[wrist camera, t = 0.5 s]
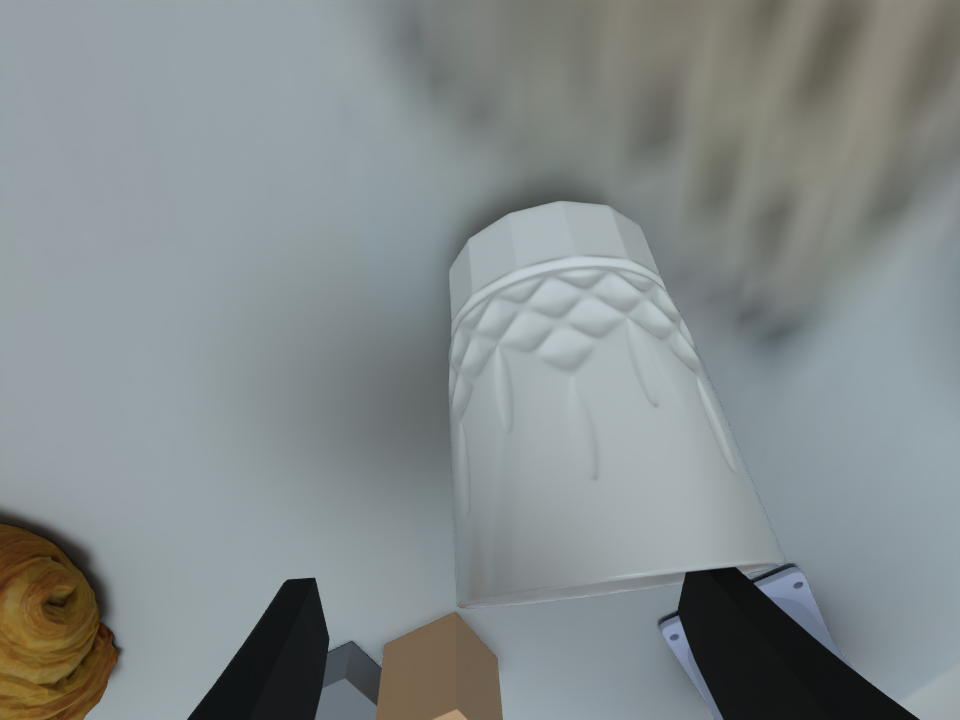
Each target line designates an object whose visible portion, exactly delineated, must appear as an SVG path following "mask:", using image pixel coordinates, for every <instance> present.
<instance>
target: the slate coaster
mask: <svg viewBox="0 0 960 720" xmlns="http://www.w3.org/2000/svg"><path fill="white" fill-rule="evenodd" d="M381 671H382V669H381V668H380V667H379V666H378V665H377V664H376V663H374V662H373V661H372V660H371V659H370V658H369V657H368V656H367V655H366V654H365V653H364V652H363V651H362V650H361V649H359V648H358V647H357V646H356V645H355V644H354V643H353V642H350V643H347V644H345V645H343V646H341V647H339V648H337V649H335V650H333V651H331V652H328V653H327V660H326V667H325V674H324V680H323V687H322V692H321V696H320V700H319V704H318V709H317V713H316V717H315V720H375V719H376V711H377V703H378V695H379V687H380V679H381Z"/></svg>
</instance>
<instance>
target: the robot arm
mask: <svg viewBox="0 0 960 720" xmlns="http://www.w3.org/2000/svg"><path fill="white" fill-rule="evenodd" d="M677 612H678V616H676V617H673V618H671V619H669V620H666V621H664V622H663V623H662V624H661V625H660V631H661V633H662V635H663V637H664V638H665V640H666V641H667V643H668V645H669V646H670V648H671V649H672V651H673V652H674V654H675V655H676V657H677V658H678V660H679V662H680V663H681V665H682V666H683V668H684V669H685V671H686V672H687V674H688V676H689V677H690V679H691V680H692V682H693V683H694V685H695V686H696V688H697V689H698V691H699V693H700V694H701V696H702V697H703V699H704V700H705V702H706V703H707V705H708V706H709V708H710V710H711V712H712V714H713V717H714V719H715V720H919V719H918V718H917V717H915V716H914V715H913V714H911V713H910V712H908V711H907V710H906V709H904V708H903V707H902V706H900V705H899V704H898V703H896V702H895V701H893V700H892V699H891V698H889V697H888V696H887V695H885V694H884V693H883V692H881V691H880V690H879V689H877V688H876V687H875V686H873V685H872V684H871V683H870V682H868V681H867V680H866V679H864V678H863V677H862V676H861V675H859V674H858V673H857V672H856V671H855V670H854V669H853V667H852V666H851V665H850V663H849V662H848V661H847V659H846V658H845V657H844V655H843V654H842V653H841V651H840V650H839V649H838V647H837V646H836V645H835V643H834V642H833V641H832V639H831V637H830V634H829V632H828V630H827V627H826V625H825V622H824V620H823V618H822V615H821V613H820V611H819V608H818V606H817V603H816V601H815V599H814V596H813V594H812V591H811V589H810V587H809V584H808V582H807V580H806V577H805V575H804V574H803V572H802V571H801V570H800V569H799V568H797V567H791V568H788V569H785V570H783V571H781V572H778V573H776V574H774V575H771V576H769V577H767V578H764V579H762V580H760V581H757V582H755V583H753V582H751V581H750V580H749V579H748V578H747V577H746V576H745V575H744V574H743V573H742V572H741V571H740V570H738V569H737V568H736V567H729V568H719V569H709V570H700V571H691V572H686V573H685V578H684V582H683V587H682V592H681V597H680V601H679V606H678V611H677ZM328 645H329V635H328V631H327V626H326V622H325V618H324V614H323V609H322V605H321V601H320V596H319V592H318V588H317V584H316V579H315V578H303V579H289V580H287V581H285V582H284V583H283V585H282V586H281V588H280V589H279V591H278V593H277V594H276V596H275V597H274V599H273V600H272V602H271V603H270V605H269V607H268V608H267V610H266V611H265V613H264V614H263V616H262V617H261V619H260V620H259V622H258V623H257V625H256V626H255V628H254V629H253V630H252V632H251V633H250V635H249V636H248V638H247V639H246V641H245V642H244V644H243V645H242V646H241V648H240V649H239V651H238V652H237V653H236V655H235V656H234V658H233V659H232V660H231V662H230V663H229V665H228V666H227V667H226V669H225V670H224V672H223V673H222V674H221V676H220V677H219V679H218V680H217V681H216V683H215V684H214V685H213V687H212V688H211V689H210V690H209V692H208V693H207V694H206V696H205V697H204V698H203V699H202V701H201V702H200V703H199V705H198V706H197V707H196V709H195V710H194V711H193V712H192V714H191V715H190V716H189V718H188V719H187V720H315V717H316V713H317V709H318V704H319V700H320V696H321V692H322V687H323V680H324V674H325V667H326V660H327V653H328Z"/></svg>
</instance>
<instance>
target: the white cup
mask: <svg viewBox="0 0 960 720" xmlns="http://www.w3.org/2000/svg"><path fill="white" fill-rule="evenodd" d="M449 285H450V302H451V321H452V325H451V340H452V341H451V345H450V349H449V353H448V357H449V367H450V369H449V396H448V398H449V424H450V448H451V474H452V498H453V522H454V548H455V576H456V604H457V607H459V608H466V609H469V608H489V607H501V606H512V605H522V604H532V603H541V602H550V601H559V600H568V599H576V598H584V597H592V596H600V595H608V594H616V593H623V592H631V591H638V590H645V589H652V588H659V587H666V586H673V585H680V584H683V582H684V578H685V573H686V572H691V571H700V570H709V569H719V568H729V567H736V568H737V569H738V570H740V571H741V572H742V573H743V574H748V573H753V572H758V571H763V570H768V569H772V568H776V567H779V566H782V565H784V564H785V563H786V559H785V557H784V554H783V552H782V550H781V547H780V545H779V543H778V540H777V538H776V536H775V533H774V531H773V528H772V526H771V524H770V521H769V519H768V517H767V514H766V512H765V510H764V507H763V505H762V502H761V500H760V498H759V495H758V493H757V491H756V488H755V486H754V483H753V481H752V479H751V476H750V474H749V471H748V469H747V467H746V464H745V462H744V459H743V457H742V455H741V452H740V450H739V447H738V445H737V443H736V440H735V438H734V435H733V433H732V431H731V428H730V426H729V423H728V421H727V418H726V416H725V414H724V411H723V409H722V406H721V404H720V402H719V399H718V397H717V394H716V392H715V390H714V387H713V385H712V382H711V380H710V377H709V375H708V373H707V370H706V368H705V366H704V363H703V361H702V359H701V356H700V354H699V352H698V350H697V348H696V346H695V344H694V342H693V339H692V337H691V335H690V333H689V330H688V328H687V326H686V324H685V322H684V320H683V318H682V316H681V314H680V310H679V308H678V306H677V305H676V304H675V303H674V301H673V300H672V299H671V297H670V296H669V294H668V293H667V290H666V287H665V285H664V283H663V281H662V279H661V277H660V274H659V272H658V269H657V266H656V264H655V261H654V259H653V256H652V254H651V251H650V249H649V246H648V244H647V241H646V239H645V236H644V234H643V231H642V229H641V227H640V226H639V225H638V224H637V223H635V222H634V221H632V220H630V219H629V218H627V217H626V216H624V215H623V214H621V213H620V212H618V211H616V210H615V209H613V208H612V207H610V206H608V205H602V204H592V203H581V202H571V201H556V202H552V203H548V204H543V205H539V206H535V207H531V208H527V209H523V210H519V211H515V212H511V213H509V214H507V215H505V216H504V217H502V218H500V219H499V220H497V221H496V222H494V223H492V224H491V225H489V226H488V227H486V228H485V229H483V230H482V231H480V232H478V233H477V234H475V235H474V236H472V237H471V238H469V239H468V241H467V242H466V244H465V246H464V247H463V249H462V250H461V252H460V253H459V255H458V257H457V258H456V260H455V261H454V263H453V264H452V266H451V268H450V269H449Z"/></svg>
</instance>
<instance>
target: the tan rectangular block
mask: <svg viewBox="0 0 960 720" xmlns="http://www.w3.org/2000/svg"><path fill="white" fill-rule="evenodd" d="M375 720H503V716H502V705H501V694H500V683H499V673H498V662H497V658H496V656H495V655H494V654H493V653H492V652H491V651H490V650H489V649H488V647H487V646H486V645H485V644H484V643H483V642H482V641H481V640H480V639H479V637H478V636H477V635H476V634H475V633H474V632H473V631H472V630H471V628H470V627H469V626H468V625H467V624H466V623H465V622H464V621H463V620H462V618H461V617H460V616H459V615H458V614H457V613H456V612H454V613H451V614H449V615H447V616H445V617H443V618H441V619H439V620H436V621H434V622H432V623H430V624H428V625H426V626H423V627H421V628H419V629H417V630H415V631H413V632H411V633H408V634H406V635H404V636H402V637H400V638H398V639H396V640H393V641H391V642H389V643H387V644H385V646H384V654H383V662H382V671H381V679H380V687H379V695H378V703H377V711H376V719H375Z"/></svg>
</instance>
